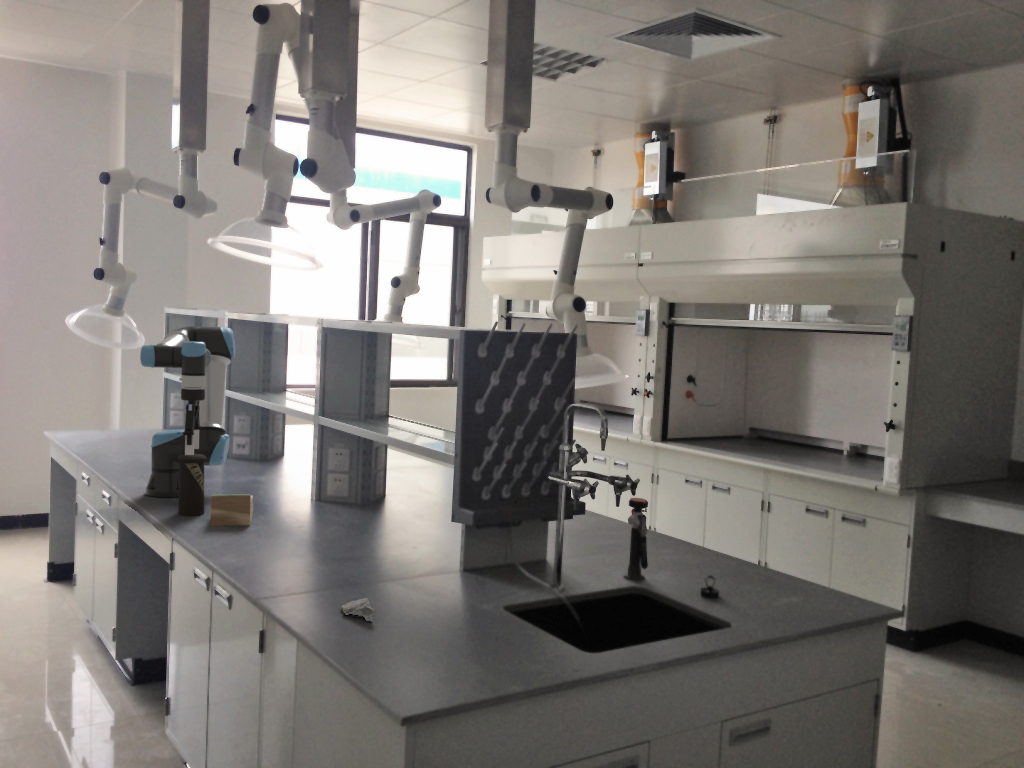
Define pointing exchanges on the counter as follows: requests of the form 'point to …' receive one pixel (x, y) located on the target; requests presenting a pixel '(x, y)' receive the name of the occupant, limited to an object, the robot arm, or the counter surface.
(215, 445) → the robot arm
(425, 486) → the counter surface
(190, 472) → the container
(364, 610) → the stone
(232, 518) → the stand
